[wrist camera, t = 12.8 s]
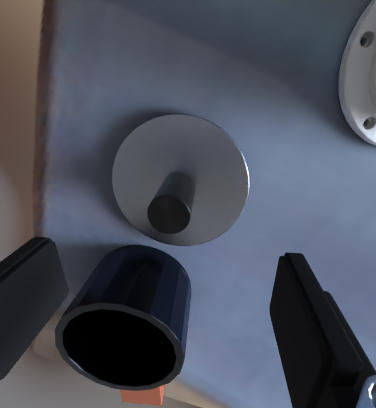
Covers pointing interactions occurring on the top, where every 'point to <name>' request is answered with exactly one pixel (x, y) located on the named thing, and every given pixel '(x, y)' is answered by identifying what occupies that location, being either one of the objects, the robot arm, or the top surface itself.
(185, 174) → the lid
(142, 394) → the block
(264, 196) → the top surface
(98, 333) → the pot
